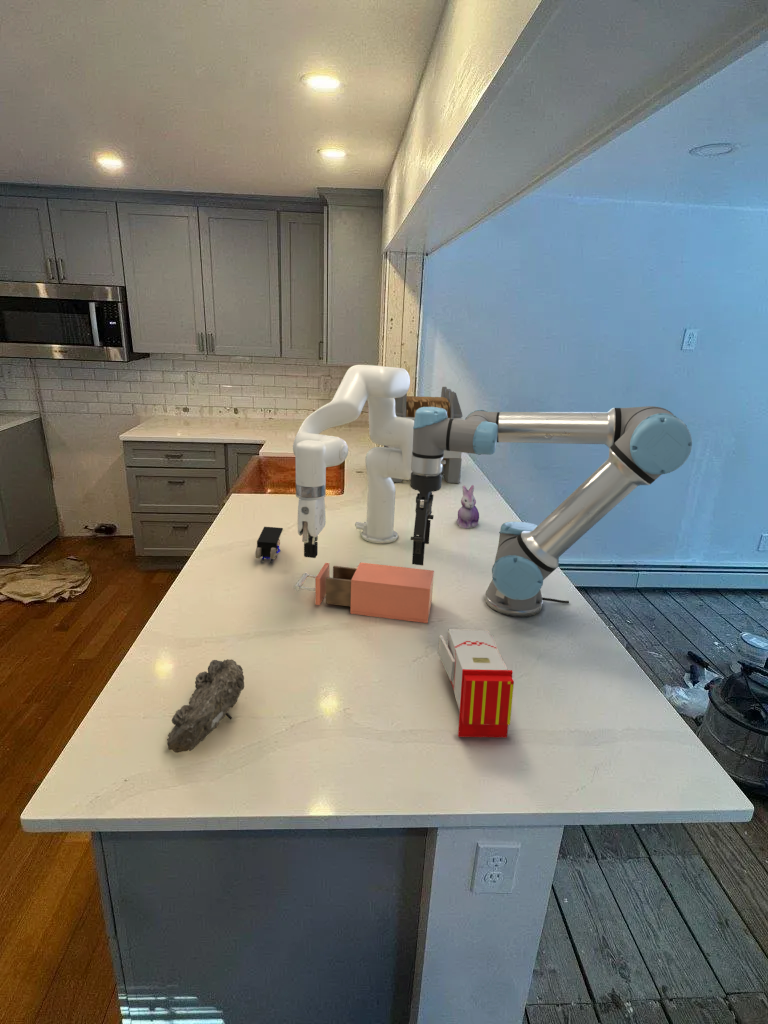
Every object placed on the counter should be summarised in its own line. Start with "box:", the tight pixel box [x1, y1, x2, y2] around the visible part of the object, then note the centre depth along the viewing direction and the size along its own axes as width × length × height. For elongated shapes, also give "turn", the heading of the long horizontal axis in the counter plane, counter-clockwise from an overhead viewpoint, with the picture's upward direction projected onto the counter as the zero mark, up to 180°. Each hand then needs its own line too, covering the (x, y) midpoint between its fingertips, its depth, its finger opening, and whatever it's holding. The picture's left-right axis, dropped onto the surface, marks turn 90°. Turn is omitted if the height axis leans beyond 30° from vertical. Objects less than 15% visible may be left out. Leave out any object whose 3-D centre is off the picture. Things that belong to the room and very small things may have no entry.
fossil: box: [166, 658, 245, 754], centre depth 106 cm, size 22×10×15 cm
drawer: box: [293, 562, 357, 608], centre depth 150 cm, size 25×10×8 cm, turn 80°
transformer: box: [383, 386, 465, 484], centre depth 268 cm, size 34×33×41 cm
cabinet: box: [350, 561, 435, 624], centre depth 149 cm, size 20×11×10 cm, turn 80°
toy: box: [437, 628, 515, 738], centre depth 117 cm, size 12×13×30 cm
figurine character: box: [254, 526, 284, 564], centre depth 176 cm, size 7×8×15 cm
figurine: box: [456, 484, 480, 529], centre depth 209 cm, size 9×10×15 cm
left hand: (310, 556), depth 149 cm, fingers closed
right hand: (420, 553), depth 144 cm, fingers open, 13 cm apart
